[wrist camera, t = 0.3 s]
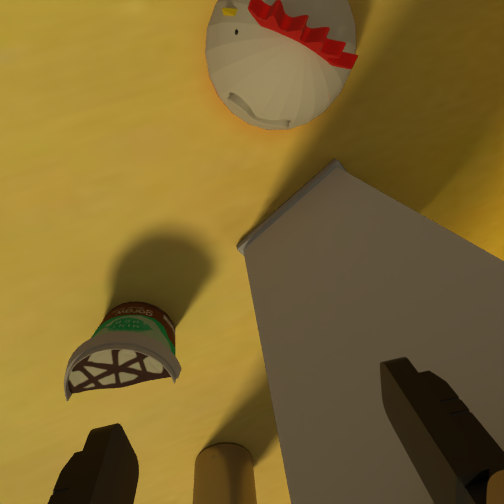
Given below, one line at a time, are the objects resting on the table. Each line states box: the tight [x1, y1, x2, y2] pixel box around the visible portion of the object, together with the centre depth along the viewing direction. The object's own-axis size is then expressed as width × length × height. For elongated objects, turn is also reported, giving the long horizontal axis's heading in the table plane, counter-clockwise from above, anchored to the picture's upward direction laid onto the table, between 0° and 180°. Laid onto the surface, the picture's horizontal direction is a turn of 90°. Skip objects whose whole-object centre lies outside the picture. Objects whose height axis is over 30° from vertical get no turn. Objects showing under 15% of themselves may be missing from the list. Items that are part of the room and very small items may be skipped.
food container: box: [64, 302, 181, 401], centre depth 41 cm, size 12×6×10 cm, turn 97°
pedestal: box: [237, 159, 504, 504], centre depth 29 cm, size 14×15×34 cm
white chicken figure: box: [205, 0, 358, 130], centre depth 29 cm, size 14×14×15 cm
